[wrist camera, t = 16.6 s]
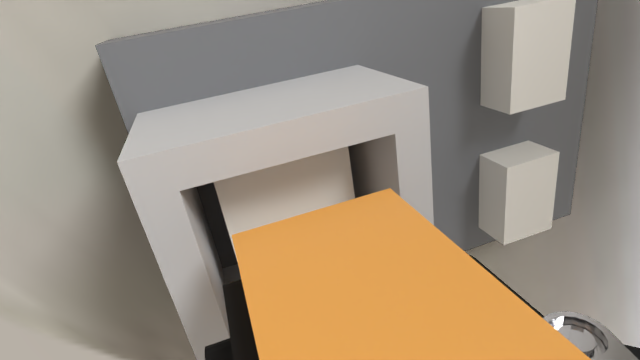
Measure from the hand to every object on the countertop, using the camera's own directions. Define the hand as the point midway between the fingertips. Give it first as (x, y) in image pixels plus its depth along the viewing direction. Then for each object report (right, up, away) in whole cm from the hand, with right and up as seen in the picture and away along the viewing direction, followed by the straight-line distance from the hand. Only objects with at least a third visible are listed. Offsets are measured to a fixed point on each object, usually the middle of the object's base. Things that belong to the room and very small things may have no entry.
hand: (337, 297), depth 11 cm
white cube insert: (-2, +3, +7) cm, 8 cm away
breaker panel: (+2, +6, +11) cm, 12 cm away
